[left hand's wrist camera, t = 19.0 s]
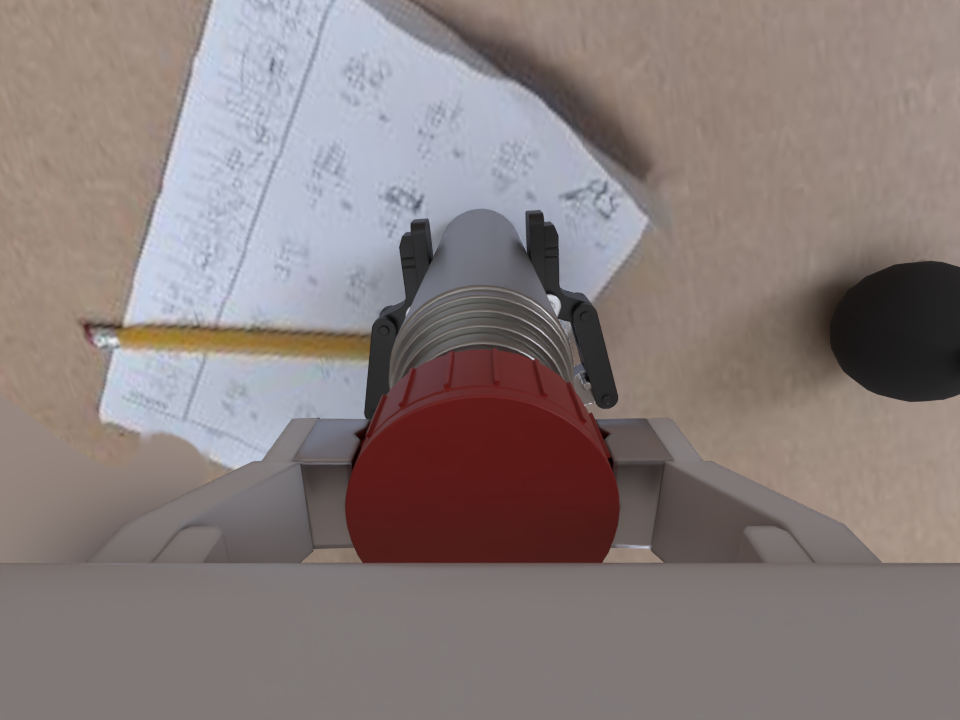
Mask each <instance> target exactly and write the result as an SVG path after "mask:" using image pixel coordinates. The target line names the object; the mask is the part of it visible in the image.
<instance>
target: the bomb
mask: <svg viewBox="0 0 960 720" xmlns="http://www.w3.org/2000/svg"><path fill="white" fill-rule="evenodd" d="M830 343H831V349H832V351H833V353H834V355H835V357H836V359H837V361H838V363H839V365H840V366H841V368H842V369H843V371H844V372H845V373H846V374H847V375H849V376H850V377H851V378H852V379H854V380H855V381H856V382H858V383H859V384H860V385H862V386H863V387H864V388H866V389H867V390H869V391H871V392H873V393H876V394H878V395H882V396H886V397H890V398H894V399H898V400H903V401H908V402H920V401H933V400H944V399H947V398H950V397H954V396H956V395H959V394H960V267H958V266H954V265H951V264H947V263H943V262H936V261H924V262H914V263H904V264H896V265H893V266H890V267H888V268H886V269H883V270H881V271H878V272H876V273H874V274H871V275H869V276H867V277H865V278H864V279H862V280H861V281H860V282H859V283H857V284H856V285H855V286H854V287H852V288H851V289H850V290H849V291H848V292H847V293H846V295H845V296H844V297H843V299H842V300H841V301H840V303H839V304H838V306H837V307H836V309H835V312H834V315H833V318H832V321H831V324H830Z"/></svg>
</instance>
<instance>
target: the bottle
mask: <svg viewBox="0 0 960 720" xmlns="http://www.w3.org/2000/svg"><path fill="white" fill-rule="evenodd" d="M492 348H497V351H505V352H509V353H514V354H518V355H521V356H524V357H527V358H529V359H532V360H534V359H535V358H536V359H538V360H539V362H540V364H542V365H544V366H546V367H548V368H549V369H551V370H552V371H554V372H555V373H556V374H558V375H559V376H561V377H562V378H563V379H564V380H565V381H566V382H567V383H568V382H569V381H570V382H571V383H572V384H573V387H574V366H573V356H572V352H571V348H570V344H569V342H568V340H567V337H566V335H565V333H564V330H563V328H562V326H561V324H560V322H559V320H558V318H557V316H556V314H555V312H554V309H553V307H552V305H551V303H550V301H549V299H548V297H547V295H546V293H545V290H544V288H543V286H542V284H541V282H540V280H539V278H538V276H537V274H536V272H535V269H534V267H533V265H532V263H531V261H530V259H529V257H528V255H527V253H526V250H525V248H524V246H523V244H522V242H521V240H520V238H519V236H518V234H517V232H516V230H515V228H514V226H513V225H512V224H511V223H510V222H509V221H508V220H507V219H506V218H505V217H504V216H502V215H501V214H499V213H497V212H494V211H491V210H485V209H476V210H471V211H468V212H465V213H463V214H461V215H460V216H458V217H457V218H456V219H454V220H453V221H452V222H451V224H450V225H449V226H448V228H447V229H446V231H445V233H444V235H443V237H442V240H441V242H440V244H439V246H438V248H437V251H436V253H435V255H434V257H433V259H432V261H431V264H430V266H429V268H428V270H427V272H426V274H425V277H424V279H423V281H422V283H421V285H420V287H419V290H418V292H417V294H416V296H415V298H414V300H413V303H412V305H411V307H410V309H409V311H408V314H407V316H406V318H405V320H404V322H403V324H402V327H401V329H400V331H399V333H398V335H397V337H396V340H395V343H394V346H393V349H392V353H391V358H390V370H389V389H390V390H391V388H392V387H393V386H394V385H395V384H396V383H397V382H398V381H399V380H400V379H401V378H403V377H404V376H405V375H407V374H408V373H409V369H410V368H412V367H414V369H415V368H417V367H419V366H420V365H422V364H424V363H426V362H428V361H430V360H433V359H435V358H438V357H440V356H443V355H447V354H448V352H449V351H453V353H455V352H460V351H467V350H492Z"/></svg>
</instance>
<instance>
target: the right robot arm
mask: <svg viewBox="0 0 960 720" xmlns="http://www.w3.org/2000/svg"><path fill="white" fill-rule="evenodd" d="M526 241H527V255H528V257H529V259H530V261H531V263H532V265H533V267H534V269H535V272H536V274H537V276H538V278H539V280H540V282H541V284H542V286H543V288H544V290H545V293H546V295H547V297H548V299H549V301H550V303H551V305H552V307H553V309H554V312H555V314H556V316H557V318H558V319H561V320H565V321H568V322H570V324H571V327H572V331H573V335H574V338H575V342H576V346H577V349H578V353H579V357H580V360H581V364H579V365H577V366H575V367H574V389H575V392H576V393H577V395H578V396H579V397H580V398H581V400H582V402H583V404H584V405H588V404H592V403H596V404H597V405H598V406H599V407H600V408H603V409H609V408H611V407H613V406H614V405H615V404H616V403H617V401H618V394H617V390H616V386H615V382H614V378H613V374H612V370H611V366H610V362H609V358H608V354H607V350H606V346H605V342H604V338H603V334H602V330H601V326H600V322H599V318H598V314H597V311H596V309H595V308H594V307H593V305H592V304H591V303H590V301H589V300H588V299H587V297H586V296H585V295H584V294H582V293H572V292H569V291H565V290H563V289H561V288H560V286H559V249H558V247H559V246H558V234H557V231H556V229H555V227H554V225H553V224H552V223H551V222H544V216H543V213H542V212H541V211H540V210H535V211H526ZM399 249H400V256H401V264H402V271H403V279H404V286H405V293H406V299H405V300H404V301H403V302H401V303H399V304H397V305H394V306H387V307H385V308H384V309H383V310H382V311H381V313H380V315H379V318H378V319H377V320H376V321H375V323H374V324H373V326H372V334H371V345H370V356H369V367H368V378H367V389H366V400H365V411H364V414H365V417H366V419H371V420H372V418H373V416H374V413H375V411H376V408H377V406H378V404H379V401H380V399H381V397H382V395H383V394H384V395H387V394H388V392H389V391H390V389H389V370H390V358H391V353H392V349H393V346H394V343H395V340H396V337H397V335H398V333H399V331H400V329H401V327H402V324H403V322H404V320H405V318H406V316H407V314H408V311H409V309H410V307H411V305H412V303H413V300H414V298H415V296H416V294H417V292H418V290H419V287H420V285H421V283H422V281H423V279H424V277H425V274H426V272H427V270H428V268H429V266H430V264H431V261H432V259H433V250H432V241H431V232H430V224H429V219H415V220H413V221H412V222H411V232H406V233H405V234H404V235H403V236H402V239H401V243H400V247H399Z"/></svg>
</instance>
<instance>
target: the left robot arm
mask: <svg viewBox="0 0 960 720" xmlns="http://www.w3.org/2000/svg"><path fill="white" fill-rule="evenodd" d="M371 421H372V420H371V419H320V418H299V419H292V420H291V421H290V422H289V424H288V425H287V426H286V428H285V429H284V431H283V432H282V433H281V435H280V436H279V438H278V439H277V440H276V442H275V443H274V444H273V446H272V447H271V449H270V450H269V451H268V453H267V454H266V455H265V457H264V458H263V460H262V461H253V462H251V463H249V464H247V465H244V466H242V467H240V468H238V469H236V470H234V471H232V472H230V473H228V474H226V475H224V476H222V477H219V478H217V479H215V480H213V481H211V482H209V483H207V484H205V485H203V486H201V487H199V488H196V489H195V490H192V491H190V492H188V493H186V494H184V495H182V496H180V497H178V498H176V499H174V500H171V501H169V502H167V503H165V504H163V505H161V506H159V507H157V508H155V509H153V510H151V511H148V512H146V513H144V514H142V515H140V516H138V517H136V518H134V519H132V520H130V521H128V522H126V523H124V524H122V525H121V526H120V527H119V528H118V529H117V530H116V531H115V532H114V533H113V534H112V535H111V536H110V537H109V538H108V539H107V540H106V541H105V542H104V543H103V544H102V545H101V546H100V547H99V548H98V549H97V550H96V552H95V553H94V554H93V555H92V556H91V557H90V558H89V559H88V560H87V561H86V562H85V563H0V720H960V563H882V562H881V561H880V560H879V559H878V558H877V557H876V556H875V555H874V554H873V553H872V552H871V551H870V550H869V549H868V548H867V547H866V546H865V545H864V544H863V543H862V542H861V541H860V540H859V539H858V538H857V537H856V536H855V534H854V533H853V532H852V531H851V530H850V529H849V528H848V527H847V526H846V525H844V524H842V523H840V522H838V521H836V520H834V519H832V518H830V517H828V516H825V515H823V514H821V513H819V512H817V511H815V510H813V509H811V508H809V507H807V506H805V505H802V504H800V503H798V502H796V501H794V500H792V499H790V498H788V497H786V496H784V495H781V494H779V493H777V492H775V491H773V490H771V489H769V488H767V487H765V486H763V485H760V484H758V483H756V482H754V481H752V480H750V479H748V478H746V477H744V476H742V475H739V474H737V473H735V472H733V471H731V470H729V469H727V468H725V467H723V466H721V465H718V464H716V463H714V462H712V461H703V460H702V458H701V457H700V456H699V454H698V453H697V452H696V450H695V449H694V448H693V446H692V445H691V444H690V442H689V441H688V440H687V438H686V437H685V436H684V434H683V433H682V432H681V430H680V429H679V428H678V426H677V425H676V424H675V422H674V421H673V420H672V419H670V418H654V419H645V418H637V419H595V421H596V423H597V426H598V428H599V430H600V433H601V435H602V437H603V439H604V442H605V444H606V446H607V449H608V451H609V453H610V456H611V457H610V458H607V459H608V461H609V464H610V466H611V469H612V471H613V474H614V476H615V479H616V482H617V487H618V492H619V502H620V513H619V522H618V527H617V531H616V534H615V538H614V541H613V543H612V545H611V548H640V549H651V551H652V552H653V553H654V554H655V555H656V556H657V557H659V558H660V559H661V560H662V561H663V562H664V563H301V562H302V561H303V560H304V559H305V558H306V557H307V556H309V555H310V554H311V553H312V552H313V549H324V548H354V546H353V544H352V542H351V538H350V535H349V532H348V528H347V523H346V515H345V497H346V491H347V486H348V482H349V479H350V476H351V473H352V471H353V468H354V465H355V463H356V460H357V458H358V456H359V453H360V451H361V442H362V440H364V439H365V438H366V436H365V435H366V433H367V430H368V428H369V425H370V423H371Z"/></svg>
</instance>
